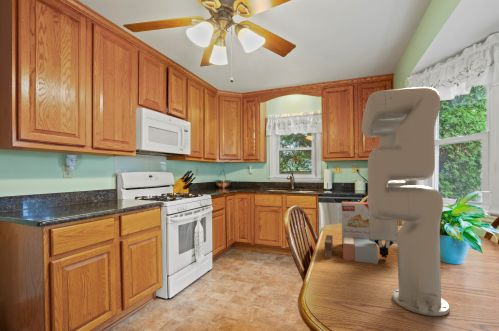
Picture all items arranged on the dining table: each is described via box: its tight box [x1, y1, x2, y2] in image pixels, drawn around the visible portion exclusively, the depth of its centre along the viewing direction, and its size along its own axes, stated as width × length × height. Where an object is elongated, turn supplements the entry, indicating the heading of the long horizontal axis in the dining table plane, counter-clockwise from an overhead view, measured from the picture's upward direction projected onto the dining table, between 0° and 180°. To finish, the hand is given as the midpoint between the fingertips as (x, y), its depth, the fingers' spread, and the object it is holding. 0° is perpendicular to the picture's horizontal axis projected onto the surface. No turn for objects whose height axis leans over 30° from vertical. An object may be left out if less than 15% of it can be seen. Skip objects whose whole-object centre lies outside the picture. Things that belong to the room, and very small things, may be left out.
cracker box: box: [341, 201, 371, 246], centre depth 117 cm, size 14×6×21 cm, turn 73°
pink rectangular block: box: [342, 237, 356, 262], centre depth 104 cm, size 10×4×7 cm, turn 159°
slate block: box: [354, 238, 379, 265], centre depth 102 cm, size 12×8×6 cm, turn 159°
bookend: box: [324, 234, 334, 259], centre depth 107 cm, size 12×2×6 cm, turn 159°
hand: (384, 256), depth 100 cm, fingers closed
